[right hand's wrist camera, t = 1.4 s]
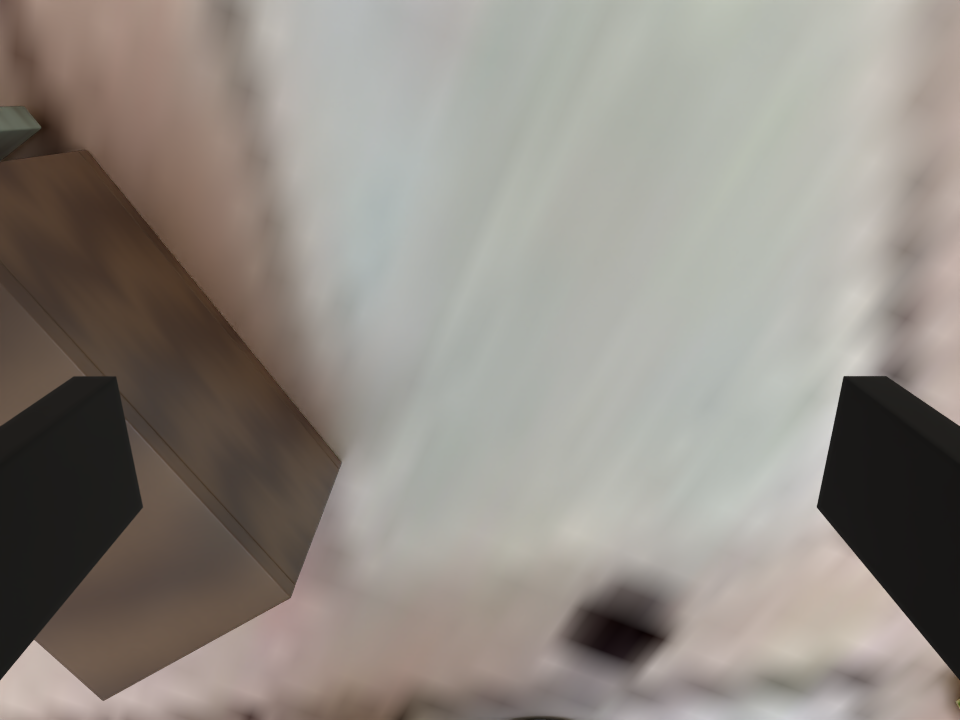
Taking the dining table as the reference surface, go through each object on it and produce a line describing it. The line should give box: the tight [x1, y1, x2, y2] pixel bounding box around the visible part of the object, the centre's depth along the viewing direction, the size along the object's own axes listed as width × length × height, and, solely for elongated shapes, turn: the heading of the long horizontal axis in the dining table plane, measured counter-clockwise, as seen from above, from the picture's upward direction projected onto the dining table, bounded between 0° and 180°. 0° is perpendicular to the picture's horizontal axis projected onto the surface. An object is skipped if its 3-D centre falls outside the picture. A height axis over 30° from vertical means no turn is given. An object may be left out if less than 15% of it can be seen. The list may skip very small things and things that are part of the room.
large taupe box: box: [0, 150, 341, 701], centre depth 32 cm, size 21×11×12 cm, turn 33°
